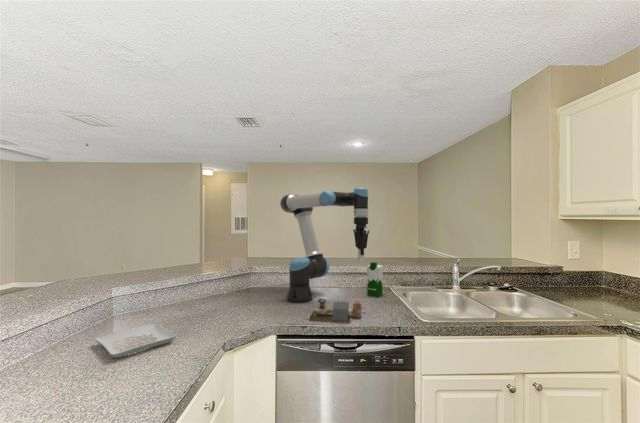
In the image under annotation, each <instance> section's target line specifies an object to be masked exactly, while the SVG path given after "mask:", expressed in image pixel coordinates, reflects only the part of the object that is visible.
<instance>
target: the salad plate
mask: <svg viewBox="0 0 640 423" xmlns="http://www.w3.org/2000/svg"><path fill="white" fill-rule="evenodd" d="M151 334H153V335H154V336H153V337H157V340H156V342H152V343H149V344H145V345H142V346H139V347H135V348H132V349H129V350H126V351H123V352H120V351H118V350H117V349H113V348H112V346H113V345H115V342H114V341H117V340H120V339H123V338H127V337H131V336H132V337H134V336H135V337H137V336H142V335H151ZM176 337H178V336H177V334H176V333H173V331H171V330H169V329H167V328H165V327H163V326H161V325H160V324H158V323H156V322H154V323H153V322H152V323H150V324H145V325H142V326H137V327H133V328H128V329H125V330H121V331H117V332H113V333H110V334H106V335H102V336H101V335H100V336H99V337H96V338H95V342H96V343H97V344H99V345H100V346H101V347H103V348H104V349H105V350H106V351H107V352H108V353H109V355H110V356H111V357H112V358H123V357H122V356H124V357H126V356H125V355H128V354H131V353H134V352H138V351H141V350H144V349H147V348H150V349H152V348H151V347H154V346H157V347H159V346H158V345H160V346H162V345H165V344H168V343H170V342H171V341H173V340H175V339H176ZM111 342H114V343H113V345H112V343H111ZM161 344H162V345H161ZM154 348H155V347H154ZM147 350H148V349H147ZM144 351H145V350H144ZM141 352H142V351H141ZM138 353H139V352H138ZM128 356H129V355H128Z"/></svg>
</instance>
